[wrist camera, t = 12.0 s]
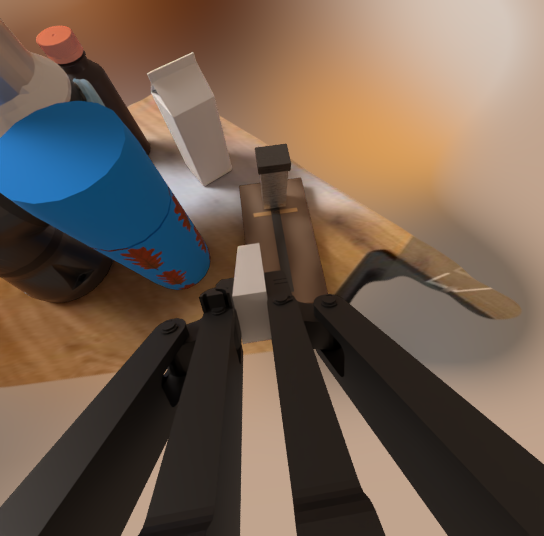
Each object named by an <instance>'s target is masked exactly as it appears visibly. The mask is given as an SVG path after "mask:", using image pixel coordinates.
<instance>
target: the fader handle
mask: <svg viewBox="0 0 544 536" xmlns="http://www.w3.org/2000/svg"><path fill="white" fill-rule="evenodd" d="M255 154H256V161H257V167H258V174H259V175H260V182H261V192H262V200H263V206H264V209H270V208H278V207H285V206H286V196H287V178H288V171H290V169H291V161H290V157H289V152H288V148H287V144H280V145H273V146H265V147H257V148H255Z"/></svg>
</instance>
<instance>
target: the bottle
mask: <svg viewBox="0 0 544 536" xmlns="http://www.w3.org/2000/svg"><path fill="white" fill-rule="evenodd" d="M36 40H37V43H38V45H39V46H40V47H41V49H42V50H43V51H44V52H45V54H46V55H47V56H48V57H49V59H50V60H52V61H54V62H55V63H57V64H58V65H59V66H60V67H61V68H62V69H63V70H64V71H65V73H66V74H67V75H68V77H69V78H70V79H71V81H73V79H79V80H80V79H85V80H87V81H88V82H89V83H90V84H91V85H92V86H93V88H94V89H95V91H96V92H97V94H98V95H99V97H100V99H101V100H102V102H103V104H104V105H105V107H107V108H109V109H111V110H113V111H114V112H115V113H116V115H117V116H118V117H119V118H120V119H121V121H122V122H123V123H124V124H125V125H126V126H127V128H128V129H129V130H130V131H131V133H132V134H133V135H134V136H135V138H136V139H137V140H138V142H139V143H140V145H141V146H142V148H143V149H144V151H145V152H146V154H147V155H148V154H149V152H150V145H149V143H148V141H147V139H146V138H145V136H144V134H143V133H142V131H141V130H140V128H139V126H138V125H137V123H136V121H135V120H134V118H133V117H132V115H131V113H130V112H129V110H128V108H127V107H126V105H125V104H124V102H123V100H122V99H121V97H120V95H119V94H118V92H117V91H116V89H115V87H114V86H113V84H112V82H111V81H110V79H109V78H108V76H107V74H106V73H105V71H104V69H103V68H102V67H101V66H99V64H97V63H95V62H92V61H91V60H89V59H87V57H86V56H85V55H86V54H85V51H84V50H83V47H82V46H81V44H80V43H79V41H78V40H77V38H76V36H75V35H74V33H73V32H72V30H71V29H70V28H68V27H66V26H53V27H50V28H47V29H45V30H43V31H42V32H40V33H39V34H38V36H37V38H36Z"/></svg>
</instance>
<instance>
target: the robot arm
mask: <svg viewBox="0 0 544 536" xmlns="http://www.w3.org/2000/svg"><path fill="white" fill-rule="evenodd" d="M71 101H85V102H93V103H99V104H101V105H103V106H105V105H104V104H103V102H102V100H101V99H100V97H99V95H98V94H97V92H96V91H95V89H94V88H93V86H92V85H91V84H90V83H89V82H88V81H87V80H85V79H80V80H79V79H73V81H71V79H70V78H69V77H68V75H67V74H66V73H65V71H64V70H63V69H62V68H61V67H60V66H59V65H58V64H57V63H55V62H54V61H52V60H50V59H49V58H46V57H44V56H41V55H38V54H35V53H31V52H29V51H27V50H26V49H25V47H24V46H23V45H22V44H21V43H20V41H19V40H18V39H17V38H16V37H15V35H14V34H13V33H12V32H11V31H10V30H9V28H8V27H7V26H6V25H5V23H4V22H3V21H2V20H1V19H0V138H1V137H2V136H3V135H4V134H5V133H6V132H7V131H8V130H9V129H10V128H11V127H12V126H13V125H14V124H15V123H16V122H18V121H19V120H21V119H23V118H24V117H26V116H28V115H29V114H31V113H33V112H34V111H36V110H39V109H42V108H45V107H48V106H50V105H53V104H56V103H63V102H71ZM111 263H112V259H111V258H109V257H107V256H106V255H104V254H102V253H100V252H98V251H97V250H95V249H93V248H91V247H89V246H87V245H86V244H84V243H82V242H80V241H78V240H77V239H75V238H73V237H71V236H69V235H68V234H66V233H64V232H62V231H60V230H59V229H57V228H55V227H53V226H51V225H49V224H48V223H46V222H44V221H42V220H40V219H39V218H37V217H35V216H33V215H32V214H30V213H29V212H27V211H26V210H24V209H23V208H21V207H20V206H18V205H17V204H15V203H14V202H13V201H11V200H10V199H8V198H7V197H6V196H4V195H3V194H1V193H0V277H2V278H3V279H5V280H6V281H8V282H9V283H11V284H12V285H14V286H15V287H17V288H18V289H20V290H21V291H23V292H24V293H26V294H27V295H29V296H31V297H33V298H36V299H39V300H44V301H48V302H54V303H61V302H68V301H72V300H75V299H77V298H80V297H82V296H84V295H85V294H87V293H89V292H90V291H91V290H93V289H94V288H95V287H96V286H97V285H98V284H99V283H100V282H101V281H102V280H103V278H104V277H105V276H106V274H107V272H108V270H109V268H110V266H111ZM199 299H200V303H201V306H202V309H203V312H204V314H203V317H202V318H201V319H200V320H198V321H195V322H192V323H190V324H187V325H186V322H185V321H184V320H183V319H179V318H176V319H170V320H167V321H165V322H163V323H161V324H160V325H159V326H157V327H156V328H155V329H154V330H153V332H152V333H151V334H150V335H149V336H148V337H147V339H146V340H145V341H144V342H143V343H142V344H141V345H140V347H139V348H138V349H137V350H136V351H135V352H134V354H133V355H132V356H131V357H130V358H129V359H128V360H127V362H126V363H125V364H124V365H123V366H122V367H121V369H120V370H119V371H118V372H117V373H116V374H115V375H114V377H113V378H112V379H111V380H110V381H109V383H108V384H107V385H106V386H105V387H104V388H103V389H102V391H101V392H100V393H99V394H98V395H97V396H96V398H95V399H94V400H93V401H92V402H91V403H90V404H89V405H88V407H87V408H86V409H85V410H84V411H83V412H82V413H81V415H80V416H79V417H78V418H77V419H76V420H75V422H74V423H73V424H72V425H71V426H70V428H69V429H68V430H67V431H66V432H65V433H64V434H63V435H62V437H61V438H60V439H59V440H58V441H57V442H56V443H55V445H54V446H53V447H52V448H51V449H50V451H49V452H48V453H47V454H46V455H45V456H44V457H43V458H42V460H41V461H40V462H39V463H38V464H37V465H36V467H35V468H34V469H33V470H32V471H31V472H30V473H29V475H28V476H27V477H26V478H25V479H24V480H23V482H22V483H21V484H20V485H19V486H18V487H17V488H16V490H15V491H14V492H13V493H12V494H11V495H10V497H9V498H8V499H7V500H6V501H5V502H4V503H3V505H2V506H1V507H0V536H121V534H122V532H123V530H124V528H125V526H126V524H127V522H128V520H129V518H130V516H131V513H132V512H133V509H134V507H135V505H136V503H137V501H138V499H139V497H140V495H141V493H142V491H143V489H144V487H145V485H146V483H147V481H148V479H149V477H150V475H151V473H152V470H153V468H154V466H155V464H156V462H157V460H158V458H159V456H160V454H161V452H162V450H163V448H164V446H165V444H166V442H167V440H168V442H167V446H166V449H165V453H164V456H163V460H162V463H161V467H160V471H159V474H158V477H157V481H156V485H155V489H154V492H153V496H152V499H151V503H150V506H149V509H148V513H147V517H146V520H145V523H144V525H143V528H142V530H141V532H140V534H139V535H138V536H240V503H241V502H240V501H241V445H242V444H241V442H242V389H243V388H242V387H243V386H242V385H243V349H242V345H241V337H242V342H243V344H245V343H251V342H257V341H264V340H270V339H272V346H273V353H274V361H275V368H276V375H277V383H278V390H279V398H280V405H281V413H282V421H283V429H284V436H285V443H286V451H287V458H288V466H289V473H290V481H291V489H292V496H293V504H294V515H295V523H296V531H297V536H385V533H384V531H383V528H382V525H381V523H380V521H379V518H378V515H377V513H376V511H375V508H374V506H373V504H372V502H371V501H370V499H369V498H368V497H367V496H366V494H365V493H364V492H363V490H362V488H361V486H360V483H359V480H358V478H357V475H356V472H355V469H354V466H353V463H352V460H351V457H350V455H349V452H348V449H347V446H346V443H345V440H344V437H343V434H342V431H341V429H340V426H339V423H338V420H337V417H336V414H335V411H334V408H333V405H332V402H331V400H330V397H329V394H328V391H327V388H326V385H325V382H324V379H323V376H322V374H321V371H320V368H319V365H318V362H317V359H316V356H315V353H314V350H313V349H316V351H317V353H318V355H319V356H320V358H321V359H322V360H323V362H324V363H325V365H326V366H327V367H328V369H329V370H330V372H331V373H332V374H333V376H334V377H335V379H336V380H337V381H338V383H339V384H340V386H341V387H342V388H343V390H344V391H345V392H346V394H347V395H348V397H349V398H350V400H351V401H352V402H353V404H354V405H355V406H356V408H357V409H358V411H359V412H360V413H361V415H362V416H363V418H364V419H365V420H366V422H367V423H368V425H369V426H370V427H371V429H372V430H373V432H374V433H375V434H376V436H377V437H378V439H379V440H380V441H381V443H382V444H383V446H384V447H385V448H386V450H387V451H388V452H389V454H390V455H391V457H392V458H393V459H394V461H395V462H396V464H397V465H398V466H399V468H400V469H401V470H402V472H403V474H404V475H405V476H406V478H407V479H408V480H409V482H410V483H411V485H412V486H413V487H414V489H415V490H416V491H417V493H418V494H419V496H420V497H421V499H422V500H423V501H424V503H425V504H426V506H427V507H428V508H429V510H430V511H431V513H432V514H433V515H434V517H435V518H436V520H437V521H438V522H439V524H440V525H441V527H442V528H443V529H444V531H445V532H446V534H447V535H448V536H544V464H542V463H541V462H540V461H539V460H538V459H537V458H535V457H534V456H533V455H532V454H530V453H529V452H528V451H527V450H526V449H524V448H523V447H522V446H521V445H520V444H518V443H517V442H516V441H515V440H513V439H512V438H511V437H510V436H509V435H507V434H506V433H505V432H504V431H503V430H501V429H500V428H499V427H498V426H497V425H495V424H494V423H493V422H492V421H491V420H489V419H488V418H487V417H486V416H484V415H483V414H482V413H481V412H480V411H478V410H477V409H476V408H475V407H474V406H472V405H471V404H470V403H469V402H467V401H466V400H465V399H464V398H463V397H461V396H460V395H459V394H458V393H457V392H455V391H454V390H453V389H452V388H451V387H449V386H448V385H447V384H446V383H444V382H443V381H442V380H441V379H440V378H438V377H437V376H436V375H435V374H433V373H432V372H431V371H430V370H429V369H427V368H426V367H425V366H424V365H422V364H421V363H420V362H419V361H418V360H417V359H415V358H414V357H413V356H412V355H411V354H409V353H408V352H407V351H406V350H404V349H403V348H402V347H401V346H400V345H398V344H397V343H396V342H395V341H394V340H392V339H391V338H390V337H389V336H387V335H386V334H385V333H384V332H383V331H381V330H380V329H379V328H378V327H377V326H375V325H374V324H373V323H372V322H371V321H369V320H368V319H367V318H366V317H364V316H363V315H362V314H361V313H360V312H358V311H357V310H356V309H355V308H354V307H352V306H351V305H350V304H349V303H348V302H346V301H345V300H344V299H343V298H341V297H339V296H337V295H333V294H325V295H320V296H318V297H316V298H315V299H314V303H303V302H299V301H297V300H296V298H295V297H294V296H293V295H292V293H291V290H290V287H289V284H288V281H287V278H286V275H285V273H284V272H282V271H281V270H278V271H271V272H265V273H264V271H263V265H262V258H261V252H260V245H259V243H256V244H249V245H242V246H238V249H237V258H236V267H235V276H234V278H229V279H222V280H220V281H219V282H218V283H217V284H216V288H212V289H209V290H207V291H205V292H203V293H202V294H201V295H200V297H199ZM166 369H168V370H167V372H166V373H165V371H166ZM164 373H165V374H164Z"/></svg>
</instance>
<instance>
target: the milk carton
mask: <svg viewBox="0 0 544 536" xmlns="http://www.w3.org/2000/svg"><path fill="white" fill-rule="evenodd" d="M147 75H148V77H149V79H150V81H151V93H152V95H153V98H154V100H155V102H156V104H157V106H158V108H159V110H160V112H161V114H162V116H163V118H164V120H165V122H166V124H167V126H168V128H169V130H170V133H171V135H172V137H173V139H174V141H175V143H176V145H177V147H178V149H179V151H180V153H181V155H182V157H183V159H184V161H185V163H186V165H187V167H188V168H189V169H190V170H191V171H192V173H193V174H194V175H195V176H196V178H197V179H198V180H199V181H200V182H201V184H202V185H203V186H206V185H208V184H209V183H211V182H213V181H214V180H216V179H218V178H219V177H221V176H223V175H224V174H226V173H228V172H229V171H231V170H232V166H231V162H230V158H229V154H228V150H227V146H226V142H225V138H224V133H223V129H222V125H221V121H220V117H219V113H218V109H217V105H216V101H215V97H214V94H213V93H212V91H211V89H210V87H209V85H208V83H207V81H206V79H205V78H204V75H203V74H202V72H201V70H200V68H199V66H198V64H197V62H196V60H195V56H194V53H193V52H192V53H190V54H188V55H186V56H183V57H181V58H179V59H177V60H175V61H173V62H171V63H168V64H166V65H164V66H162V67H160V68H157V69H155V70H154V71H151V72H149V73H147Z"/></svg>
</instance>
